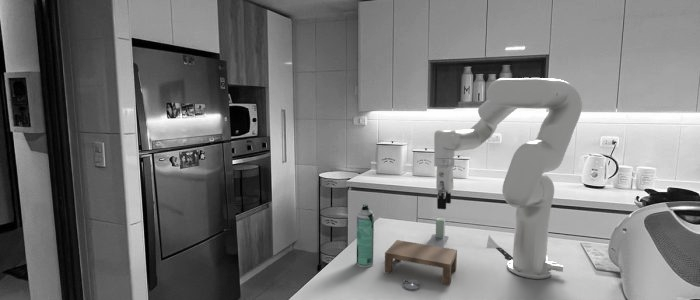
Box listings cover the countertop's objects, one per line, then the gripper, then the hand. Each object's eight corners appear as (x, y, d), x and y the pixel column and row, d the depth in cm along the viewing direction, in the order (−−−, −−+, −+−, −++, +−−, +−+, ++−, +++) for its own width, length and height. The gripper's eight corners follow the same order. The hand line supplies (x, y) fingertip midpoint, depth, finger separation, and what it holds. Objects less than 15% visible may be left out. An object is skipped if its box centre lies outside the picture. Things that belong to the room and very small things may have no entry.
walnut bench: (456, 269, 120) (457, 249, 119) (449, 285, 109) (450, 264, 108) (396, 258, 128) (396, 239, 128) (384, 272, 118) (384, 252, 117)
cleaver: (488, 261, 127) (517, 261, 127) (488, 260, 127) (517, 259, 127) (461, 232, 156) (485, 232, 156) (461, 230, 156) (485, 230, 156)
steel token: (422, 285, 110) (422, 281, 110) (416, 293, 106) (416, 289, 105) (405, 281, 112) (406, 277, 112) (400, 288, 108) (400, 284, 108)
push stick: (448, 238, 148) (449, 219, 147) (435, 262, 126) (436, 240, 125) (433, 236, 151) (433, 217, 150) (418, 259, 128) (418, 237, 127)
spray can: (375, 262, 125) (376, 204, 122) (369, 268, 120) (370, 208, 118) (360, 259, 127) (360, 202, 125) (353, 265, 122) (354, 206, 120)
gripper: (450, 165, 134) (450, 212, 136) (458, 159, 150) (457, 201, 151) (429, 164, 137) (429, 210, 139) (439, 159, 153) (439, 200, 155)
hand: (444, 205), depth 145 cm, fingers open, 9 cm apart
